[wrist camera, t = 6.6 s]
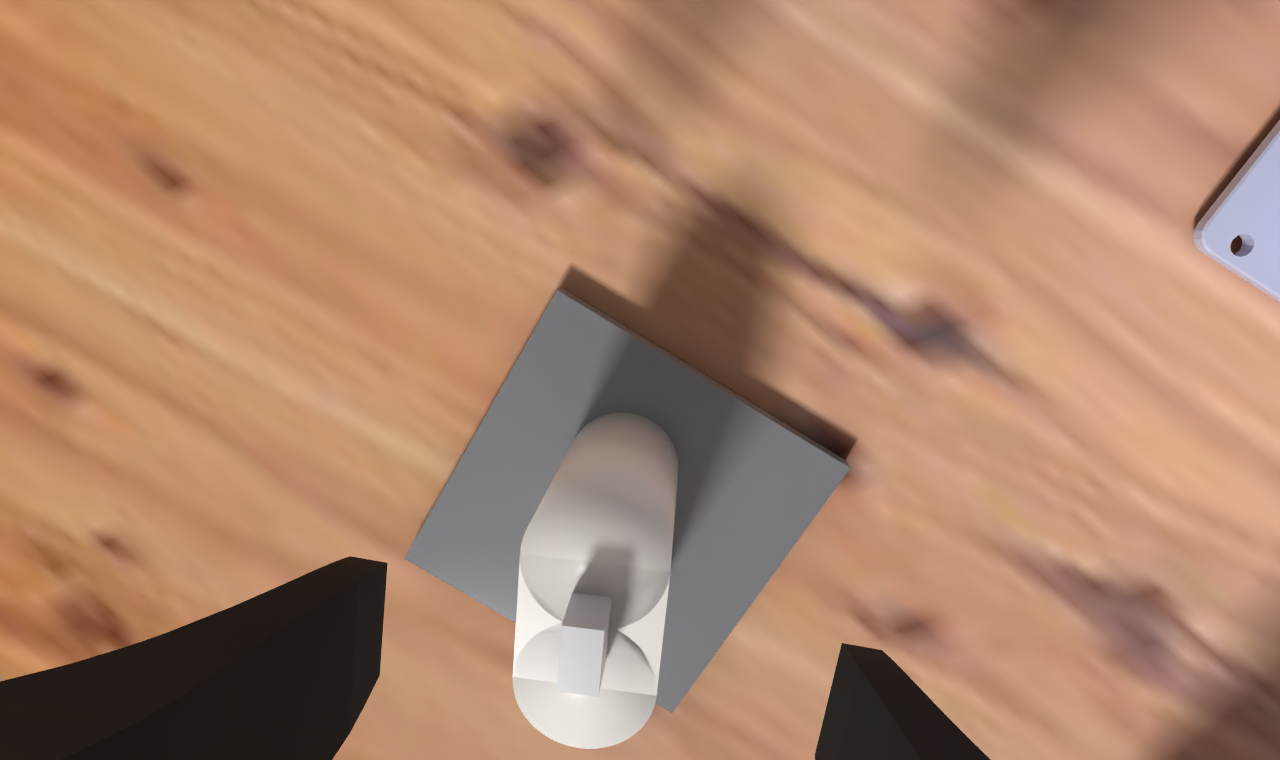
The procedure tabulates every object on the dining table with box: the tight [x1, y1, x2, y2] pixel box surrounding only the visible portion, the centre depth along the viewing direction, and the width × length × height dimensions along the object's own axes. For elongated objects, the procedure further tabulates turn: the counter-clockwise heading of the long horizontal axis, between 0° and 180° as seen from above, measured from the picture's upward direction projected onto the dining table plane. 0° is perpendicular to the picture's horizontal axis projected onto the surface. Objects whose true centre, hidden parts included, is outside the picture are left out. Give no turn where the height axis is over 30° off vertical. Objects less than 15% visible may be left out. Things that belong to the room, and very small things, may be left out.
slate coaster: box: [404, 288, 850, 713], centre depth 21 cm, size 9×9×1 cm
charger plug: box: [513, 412, 679, 749], centre depth 17 cm, size 3×6×7 cm, turn 175°
